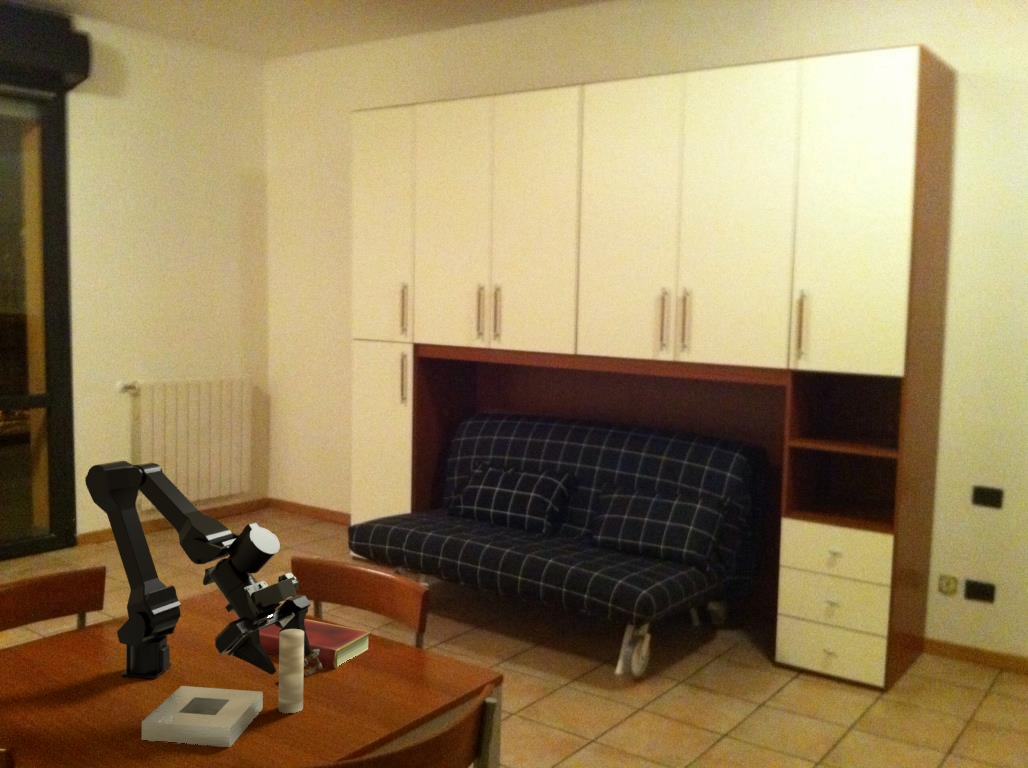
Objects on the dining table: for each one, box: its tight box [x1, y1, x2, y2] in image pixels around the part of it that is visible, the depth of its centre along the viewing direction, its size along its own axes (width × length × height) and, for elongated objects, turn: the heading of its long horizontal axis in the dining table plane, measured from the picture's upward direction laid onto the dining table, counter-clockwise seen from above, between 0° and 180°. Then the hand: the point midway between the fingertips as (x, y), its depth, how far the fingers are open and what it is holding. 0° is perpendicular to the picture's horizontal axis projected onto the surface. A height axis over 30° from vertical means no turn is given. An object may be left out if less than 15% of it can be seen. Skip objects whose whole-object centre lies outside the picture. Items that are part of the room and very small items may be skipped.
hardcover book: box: [259, 618, 372, 669], centre depth 187 cm, size 12×21×4 cm, turn 66°
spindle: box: [278, 629, 305, 715], centre depth 159 cm, size 4×4×13 cm
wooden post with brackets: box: [304, 649, 324, 677], centre depth 174 cm, size 2×8×4 cm, turn 137°
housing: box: [141, 685, 264, 748], centre depth 153 cm, size 14×14×3 cm
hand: (292, 664), depth 159 cm, fingers open, 9 cm apart
